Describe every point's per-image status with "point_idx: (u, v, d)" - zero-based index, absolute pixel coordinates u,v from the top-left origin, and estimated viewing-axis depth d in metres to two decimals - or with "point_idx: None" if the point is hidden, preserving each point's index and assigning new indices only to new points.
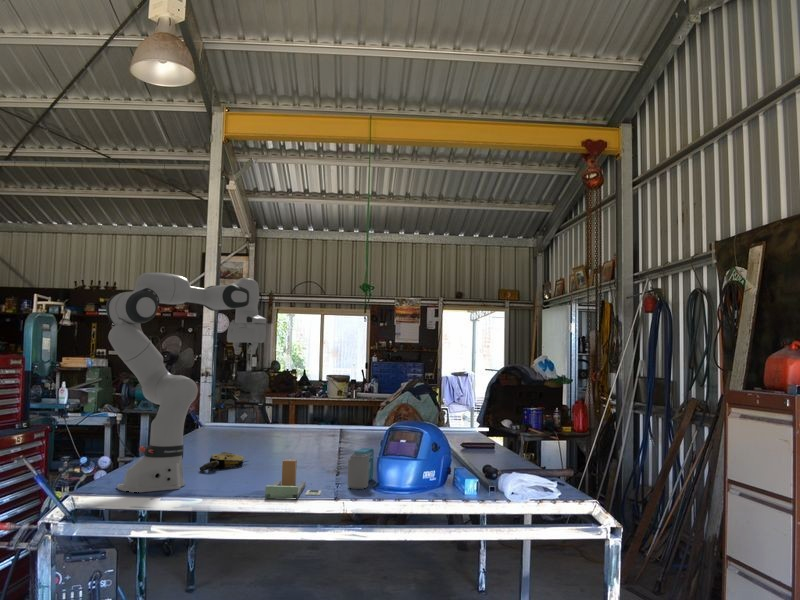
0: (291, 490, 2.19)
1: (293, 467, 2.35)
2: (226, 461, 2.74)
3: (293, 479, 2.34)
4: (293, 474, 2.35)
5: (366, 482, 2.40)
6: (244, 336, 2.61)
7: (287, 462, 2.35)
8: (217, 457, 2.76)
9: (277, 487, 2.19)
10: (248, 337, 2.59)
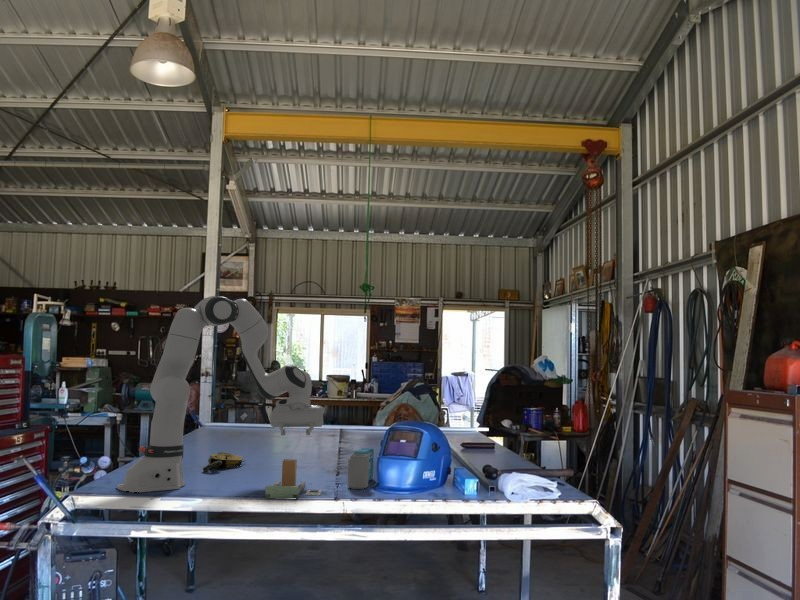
0: (291, 490, 2.19)
1: (293, 467, 2.35)
2: (227, 461, 2.75)
3: (293, 479, 2.34)
4: (293, 474, 2.35)
5: (366, 482, 2.40)
6: None
7: (287, 462, 2.35)
8: (218, 457, 2.76)
9: (277, 487, 2.19)
10: None
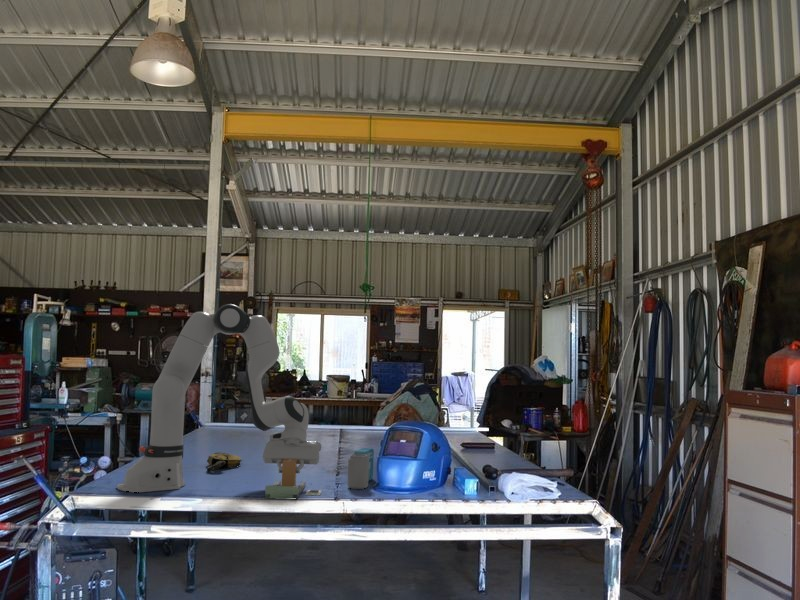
0: (291, 490, 2.19)
1: (293, 467, 2.35)
2: (229, 461, 2.75)
3: (293, 479, 2.34)
4: (293, 474, 2.35)
5: (366, 482, 2.40)
6: None
7: (287, 462, 2.35)
8: (219, 457, 2.76)
9: (277, 487, 2.19)
10: None
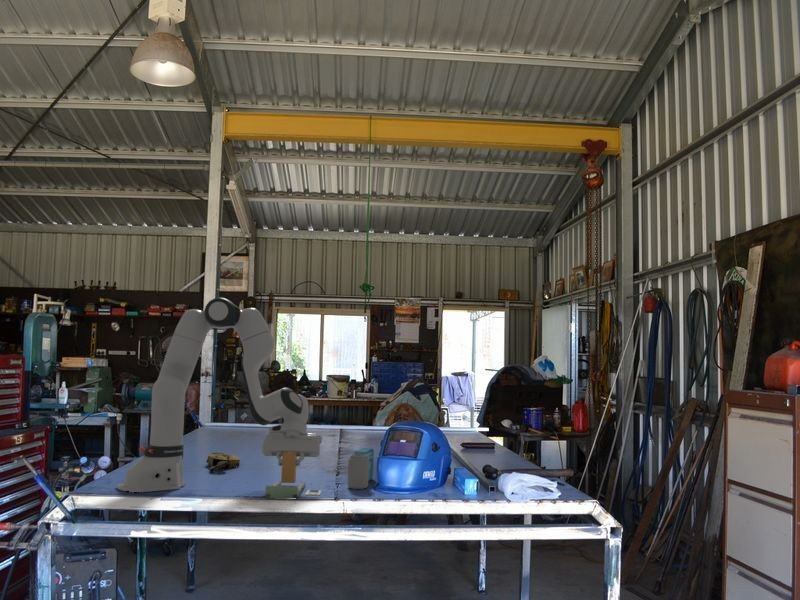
0: (291, 490, 2.19)
1: (293, 459, 2.30)
2: (230, 461, 2.75)
3: (293, 472, 2.29)
4: (293, 467, 2.29)
5: (366, 482, 2.40)
6: None
7: (287, 454, 2.30)
8: (219, 457, 2.75)
9: (277, 487, 2.19)
10: None
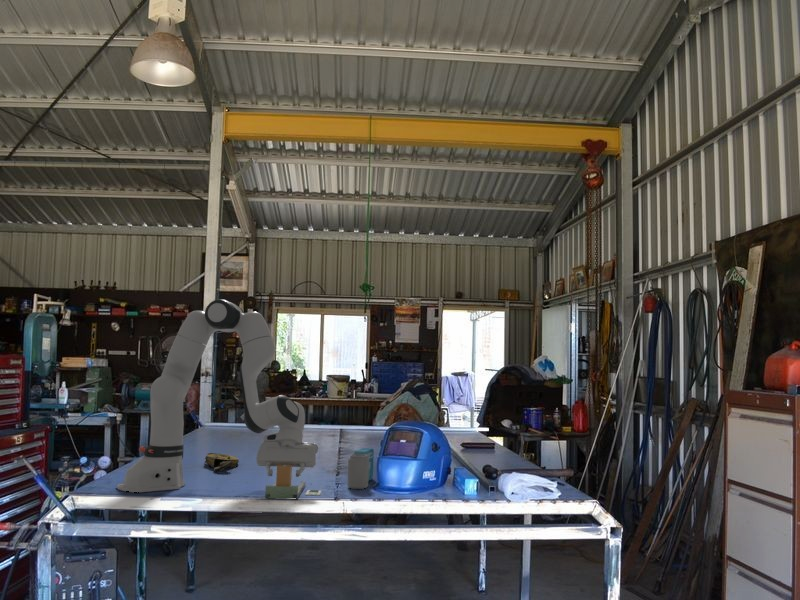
0: (291, 490, 2.19)
1: (288, 473, 2.22)
2: (231, 461, 2.75)
3: None
4: (288, 480, 2.22)
5: (366, 482, 2.40)
6: None
7: (282, 468, 2.22)
8: (220, 458, 2.75)
9: (277, 487, 2.19)
10: None
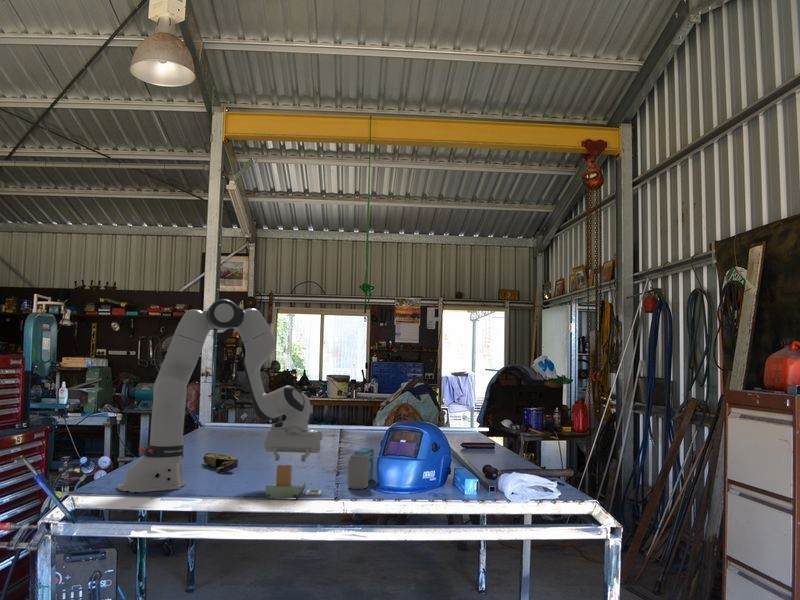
0: (291, 490, 2.19)
1: (288, 473, 2.22)
2: (232, 461, 2.76)
3: None
4: (288, 480, 2.22)
5: (366, 482, 2.40)
6: None
7: (282, 468, 2.22)
8: (221, 457, 2.75)
9: (277, 487, 2.19)
10: None
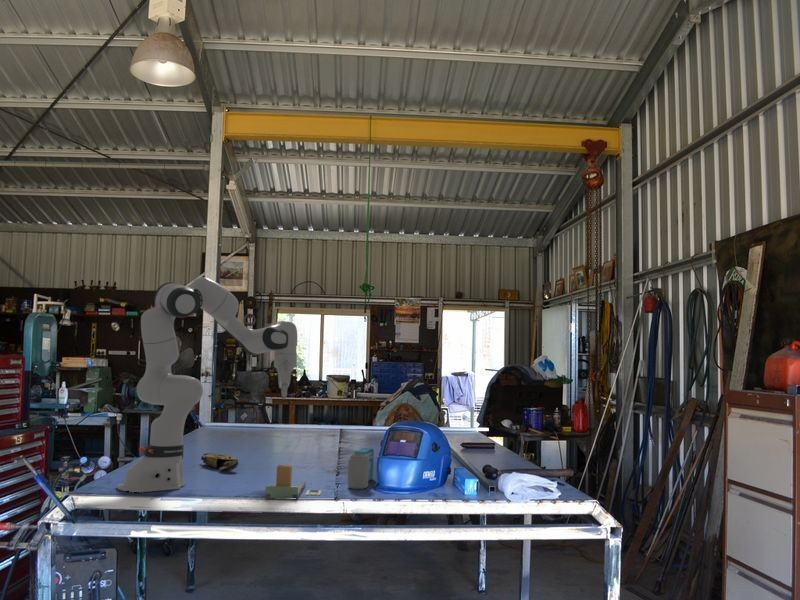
0: (291, 490, 2.19)
1: (288, 473, 2.22)
2: (233, 460, 2.76)
3: None
4: (288, 481, 2.22)
5: (366, 482, 2.40)
6: None
7: (282, 468, 2.22)
8: (222, 457, 2.75)
9: (277, 487, 2.19)
10: None
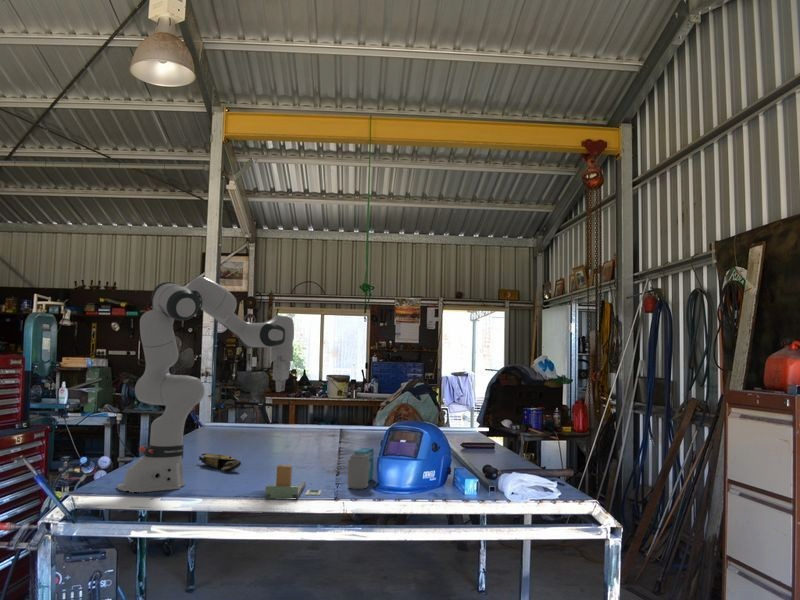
0: (291, 490, 2.19)
1: (288, 473, 2.22)
2: (234, 460, 2.76)
3: None
4: (288, 480, 2.22)
5: (366, 482, 2.40)
6: (285, 373, 2.65)
7: (282, 468, 2.22)
8: (223, 458, 2.75)
9: (277, 487, 2.19)
10: (286, 374, 2.68)
